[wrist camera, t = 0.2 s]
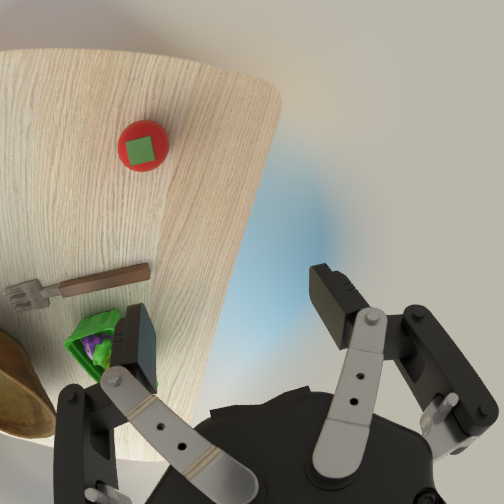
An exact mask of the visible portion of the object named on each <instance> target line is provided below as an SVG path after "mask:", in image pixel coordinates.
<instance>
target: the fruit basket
mask: <svg viewBox="0 0 504 504" xmlns="http://www.w3.org/2000/svg"><path fill="white" fill-rule="evenodd" d="M120 318H122V317H121V315H120V314H119V312H118V311H117V309H112V310H111V311H109V312H103V313H100V314H97V315H93V316H92V317H90V318H84V319H83V320H82V321H81V322H80V324H79V325H78V327H77V328H76V329H75V331H74V332H73V333H72V335H71V336H69V337H68V338H67V340H66V341H65V342H64V346H65V348H66V349H67V350H68V351H69V352H70V354H71V355H72V356H73V357H74V358H75V359H76V360H77V361H78V363H79V364H80V365H81V366H82V367H83V368H84V369H85V370H86V372H87V373H88V374H89V375H90V376H91V377H92V378H93V379H94V380H95V381H96V382H97V383H99V382H100V379H101V376H102V374H103V373H104V372H105V371H106V370H107V369H109V365H110V357H111V349H112V344H113V342H112V341H113V337H114V336H113V334H114V328H115V325H116V324H117V322H118V320H119V319H120ZM156 381H157V379H156ZM157 387H158V382H157Z"/></svg>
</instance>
